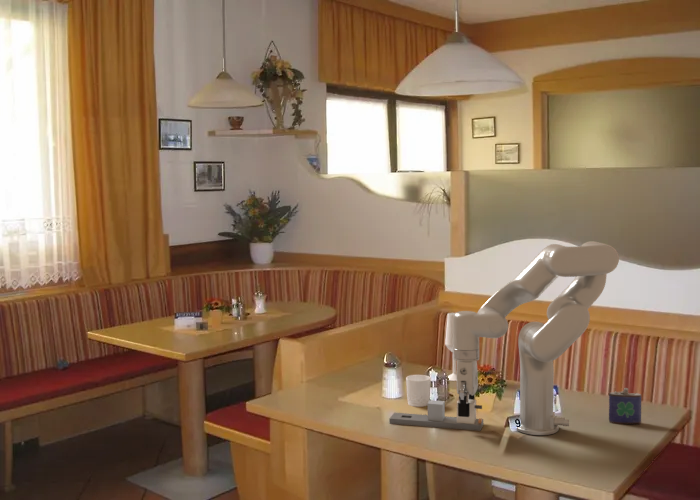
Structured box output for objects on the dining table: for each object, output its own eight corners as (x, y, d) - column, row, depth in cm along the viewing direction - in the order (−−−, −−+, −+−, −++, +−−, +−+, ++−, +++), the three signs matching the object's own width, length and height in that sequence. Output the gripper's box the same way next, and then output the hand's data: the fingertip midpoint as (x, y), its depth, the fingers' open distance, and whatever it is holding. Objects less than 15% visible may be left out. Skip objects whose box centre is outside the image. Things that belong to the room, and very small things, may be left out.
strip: (483, 429, 233) (483, 416, 232) (480, 435, 227) (480, 422, 227) (394, 422, 241) (394, 410, 240) (389, 428, 235) (389, 415, 235)
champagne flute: (452, 381, 286) (452, 316, 284) (441, 377, 292) (441, 313, 289) (467, 379, 289) (467, 314, 287) (456, 375, 295) (456, 311, 293)
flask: (640, 422, 237) (641, 387, 236) (642, 425, 234) (642, 389, 233) (608, 420, 239) (608, 386, 238) (609, 423, 236) (609, 388, 235)
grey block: (444, 422, 235) (444, 401, 234) (442, 426, 231) (442, 404, 231) (430, 421, 236) (429, 400, 236) (427, 425, 233) (427, 403, 232)
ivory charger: (483, 425, 232) (482, 400, 231) (481, 429, 228) (480, 404, 227) (459, 423, 234) (459, 398, 233) (456, 427, 230) (456, 402, 229)
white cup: (429, 412, 250) (429, 381, 249) (404, 411, 252) (404, 380, 251) (431, 405, 258) (431, 375, 257) (407, 404, 260) (407, 374, 259)
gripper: (474, 361, 220) (475, 421, 221) (483, 348, 236) (483, 404, 238) (448, 360, 222) (448, 419, 224) (458, 347, 238) (458, 402, 240)
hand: (466, 411), depth 231 cm, fingers open, 9 cm apart
